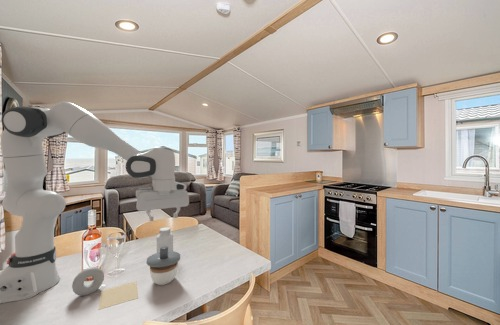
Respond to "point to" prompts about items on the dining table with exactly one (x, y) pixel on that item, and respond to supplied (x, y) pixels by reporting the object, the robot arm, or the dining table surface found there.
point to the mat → (118, 295)
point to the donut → (80, 278)
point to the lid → (163, 258)
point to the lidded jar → (163, 274)
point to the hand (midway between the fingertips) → (163, 219)
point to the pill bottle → (165, 239)
